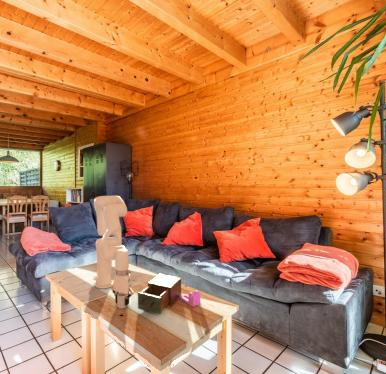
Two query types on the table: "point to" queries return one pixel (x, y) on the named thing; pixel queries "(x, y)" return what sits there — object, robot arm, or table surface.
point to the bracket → (191, 298)
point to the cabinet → (168, 285)
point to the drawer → (153, 299)
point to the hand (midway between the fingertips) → (122, 303)
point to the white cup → (121, 300)
